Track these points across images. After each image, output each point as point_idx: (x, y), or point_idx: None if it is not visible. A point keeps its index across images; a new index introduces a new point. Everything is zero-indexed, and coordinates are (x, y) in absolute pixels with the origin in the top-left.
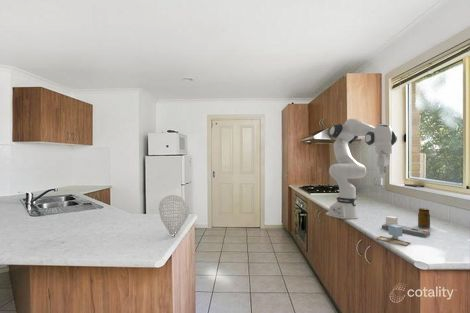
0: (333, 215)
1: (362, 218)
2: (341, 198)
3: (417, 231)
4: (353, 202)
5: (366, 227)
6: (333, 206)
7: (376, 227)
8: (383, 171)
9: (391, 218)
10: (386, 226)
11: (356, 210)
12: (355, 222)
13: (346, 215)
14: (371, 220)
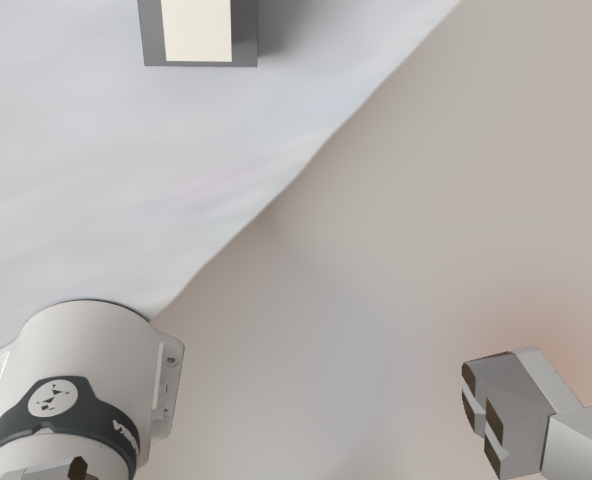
0: (176, 394)
1: (42, 280)
2: (133, 476)
3: None
4: (82, 401)
5: (266, 159)
6: (148, 452)
7: (209, 114)
8: (577, 398)
9: (229, 7)
10: (256, 28)
11: (48, 348)
12: (196, 257)
13: (153, 344)
14: (37, 219)
